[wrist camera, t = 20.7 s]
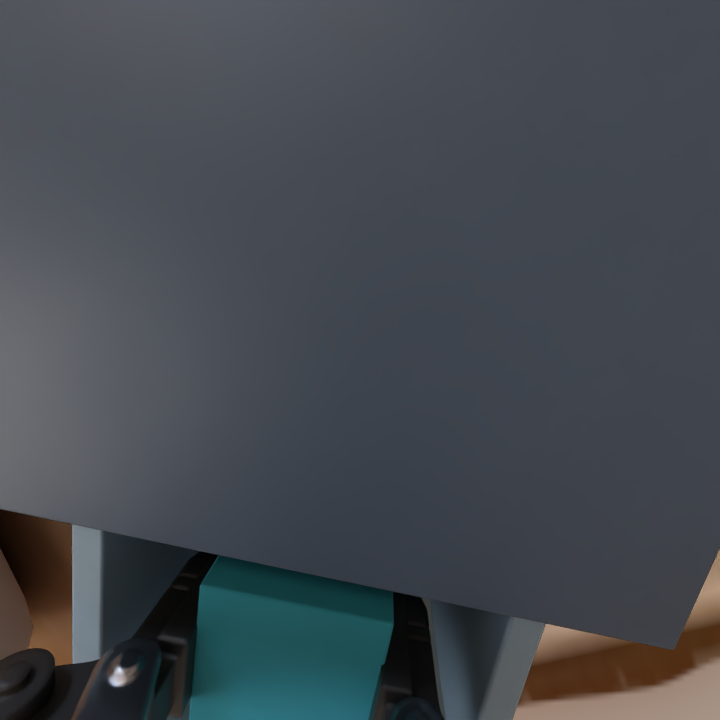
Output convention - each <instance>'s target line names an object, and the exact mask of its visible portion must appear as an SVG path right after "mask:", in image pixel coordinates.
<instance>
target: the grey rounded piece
mask: <svg viewBox="0 0 720 720" xmlns="http://www.w3.org/2000/svg"><path fill="white" fill-rule="evenodd" d="M32 630H33V624H32V620H31V616H30V613H29V609H28V606H27V602H26V599H25V597H24V595H23V593H22V591H21V589H20V587H19V585H18V583H17V581H16V579H15V577H14V575H13V573H12V571H11V569H10V567H9V565H8V563H7V561H6V559H5V557H4V555H3V553H2V551H1V549H0V660H2V659H4V658H5V657H7V656H9V655H12V654H14V653H16V652H19V651H22V650H27V649H28V646H29V642H30V638H31V634H32Z"/></svg>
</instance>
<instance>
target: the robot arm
mask: <svg viewBox="0 0 720 720" xmlns="http://www.w3.org/2000/svg"><path fill="white" fill-rule="evenodd" d="M217 557H218V555H216V554H212V553H207V552H202V551H199V552H198V553H197V554H195V555H194V556H192V557H191V558H190V559H189V560H188V561H187V563H186V564H185V565H184V567H183V568H182V570H181V571H180V572H179V575H178V576H176V578H175V579H174V581H173V582H172V583H171V585H170V587H169V588H168V589H167V590H166V592H165V593H164V594H163V596H162V597H161V598H160V600H159V601H158V603H157V604H156V605H155V607H154V608H153V609H152V611H151V612H150V614H149V615H148V616H147V618H146V619H145V621H144V622H143V623H142V625H141V626H140V627H139V629H138V630H137V632H136V633H135V634H134V635H133V637H132V638H131V639H128V640H125V641H123V642H121V643H119V644H117V645H115V646H114V647H113V648H111V649H110V650H109V651H107V652H106V653H105V654H104V655H103V656H102V657H101V658H100V659H98V660H94V661H90V662H84V663H76V664H68V665H61V666H55V660H54V657H53V655H52V654H51V653H50V652H49V651H47V650H45V649H40V648H33V649H27V650H22V651H19V652H16V653H14V654H12V655H9V656H7V657H5V658H4V659H2V660H0V720H166V719H167V717H168V716H172V717H177V718H181V717H182V714H183V712H184V710H185V708H186V706H187V704H188V702H189V700H190V698H191V691H192V679H193V668H194V656H195V644H196V632H197V614H198V602H199V590H200V585H201V583H202V581H203V580H204V578H205V576H206V575H207V573H208V571H209V570H210V568H211V567H212V565H213V563H214V562H215V560H216V558H217ZM393 611H394V626H393V631H392V635H391V639H390V643H389V648H388V652H387V656H386V661H385V663H384V664H383V665H381V669H380V673H379V677H378V682H377V686H376V690H375V694H374V699H373V703H372V707H371V711H370V716H369V720H445V719H444V718H443V715H442V713H441V710H440V706H439V701H438V693H437V685H436V677H435V668H434V660H433V652H432V644H431V636H430V630H429V620H428V612H427V608H426V606H425V604H424V602H423V600H422V598H421V597H417V596H412V595H407V594H403V593H398V592H393Z"/></svg>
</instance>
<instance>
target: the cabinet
mask: <svg viewBox="0 0 720 720" xmlns="http://www.w3.org/2000/svg"><path fill="white" fill-rule="evenodd" d="M0 509H1V510H6V511H11V512H16V513H21V514H25V515H30V516H35V517H40V518H44V519H49V520H54V521H59V522H64V523H68V524H73V525H78V526H83V527H87V528H92V529H97V530H102V531H107V532H111V533H116V534H121V535H126V536H130V537H135V538H140V539H145V540H150V541H154V542H159V543H164V544H169V545H173V546H178V547H183V548H188V549H193V550H197V551H202V552H207V553H212V554H216V555H221V556H226V557H231V558H235V559H240V560H245V561H250V562H255V563H259V564H264V565H269V566H274V567H278V568H283V569H288V570H293V571H298V572H302V573H307V574H312V575H317V576H321V577H326V578H331V579H336V580H341V581H345V582H350V583H355V584H360V585H364V586H369V587H374V588H379V589H384V590H388V591H393V592H398V593H403V594H407V595H412V596H417V597H422V598H427V599H431V600H436V601H441V602H446V603H450V604H455V605H460V606H465V607H470V608H474V609H479V610H484V611H489V612H493V613H498V614H503V615H508V616H513V617H517V618H522V619H527V620H532V621H536V622H541V623H546V624H551V625H555V626H560V627H565V628H570V629H575V630H579V631H584V632H589V633H594V634H598V635H603V636H608V637H613V638H618V639H622V640H627V641H632V642H637V643H641V644H646V645H651V646H656V647H661V648H665V649H670V650H673V649H675V647H676V644H677V642H678V640H679V638H680V635H681V633H682V631H683V629H684V626H685V624H686V622H687V620H688V618H689V615H690V613H691V611H692V609H693V606H694V604H695V602H696V600H697V598H698V595H699V593H700V591H701V589H702V586H703V584H704V582H705V580H706V578H707V575H708V573H709V571H710V569H711V566H712V564H713V562H714V560H715V558H716V555H717V553H718V551H719V549H720V0H0Z"/></svg>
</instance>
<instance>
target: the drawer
mask: <svg viewBox="0 0 720 720" xmlns="http://www.w3.org/2000/svg"><path fill="white" fill-rule="evenodd" d="M198 552H199V551H197V550H193V549H188V548H183V547H178V546H173V545H169V544H164V543H159V542H154V541H150V540H145V539H140V538H135V537H130V536H126V535H121V534H116V533H111V532H107V531H102V530H97V529H92V528H87V527H83V526H78V525H73V524H72V664H76V663H84V662H90V661H94V660H98V659H100V658H101V657H102V656H103V655H104V654H105V653H106V652H107V651H109V650H110V649H111V648H113V647H114V646H115V645H117V644H119V643H121V642H123V641H125V640H128V639H131V638H132V637H133V635H134V634H135V633H136V632H137V630H138V629H139V627H140V626H141V625H142V623H143V622H144V621H145V619H146V618H147V616H148V615H149V614H150V612H151V611H152V609H153V608H154V607H155V605H156V604H157V603H158V601H159V600H160V598H161V597H162V596H163V594H164V593H165V592H166V590H167V589H168V588H169V587H170V585H171V583H172V582H173V581H174V579H175V578H176V576H178V575H179V572H180V571H181V570H182V568H183V567H184V565H185V564H186V563H187V561H188V560H189V559H190V558H191V557H192V556H194V555H195V554H197V553H198ZM421 598H422V597H421ZM422 600H423V602H424V604H425V606H426V608H427V612H428V620H429V630H430V636H431V644H432V652H433V660H434V668H435V677H436V685H437V693H438V701H439V706H440V710H441V713H442V715H443V718H444V719H445V720H512V719H513V717H514V714H515V711H516V708H517V705H518V702H519V699H520V696H521V693H522V691H523V688H524V685H525V682H526V679H527V676H528V673H529V670H530V667H531V665H532V662H533V659H534V656H535V653H536V650H537V647H538V644H539V641H540V639H541V636H542V633H543V630H544V627H545V624H546V623H541V622H536V621H532V620H527V619H522V618H517V617H513V616H508V615H503V614H498V613H493V612H489V611H484V610H479V609H474V608H470V607H465V606H460V605H455V604H450V603H446V602H441V601H436V600H431V599H427V598H422ZM190 699H191V698H190ZM189 711H190V700H189V702H188V704H187V706H186V708H185V710H184V712H183V714H182V717H181V718H177V717H172V716H168V717H167V719H166V720H189Z"/></svg>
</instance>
